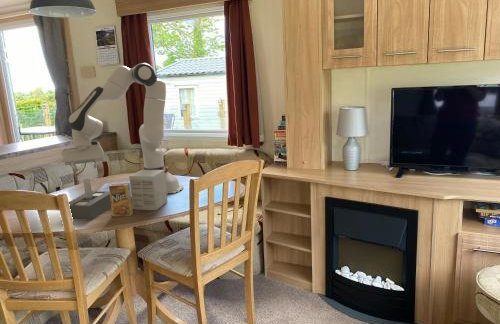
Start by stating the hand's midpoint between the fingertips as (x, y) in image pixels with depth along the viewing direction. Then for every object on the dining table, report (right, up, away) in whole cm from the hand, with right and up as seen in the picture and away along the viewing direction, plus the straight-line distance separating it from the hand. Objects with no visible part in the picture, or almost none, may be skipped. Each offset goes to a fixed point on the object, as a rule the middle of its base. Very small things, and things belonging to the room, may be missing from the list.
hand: (85, 168), depth 198 cm
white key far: (+4, -19, -13) cm, 24 cm away
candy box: (+23, -22, -13) cm, 35 cm away
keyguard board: (+5, -21, -6) cm, 23 cm away
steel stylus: (+5, -16, -7) cm, 18 cm away
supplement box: (+34, -19, -1) cm, 39 cm away
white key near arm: (+6, -16, 0) cm, 17 cm away
